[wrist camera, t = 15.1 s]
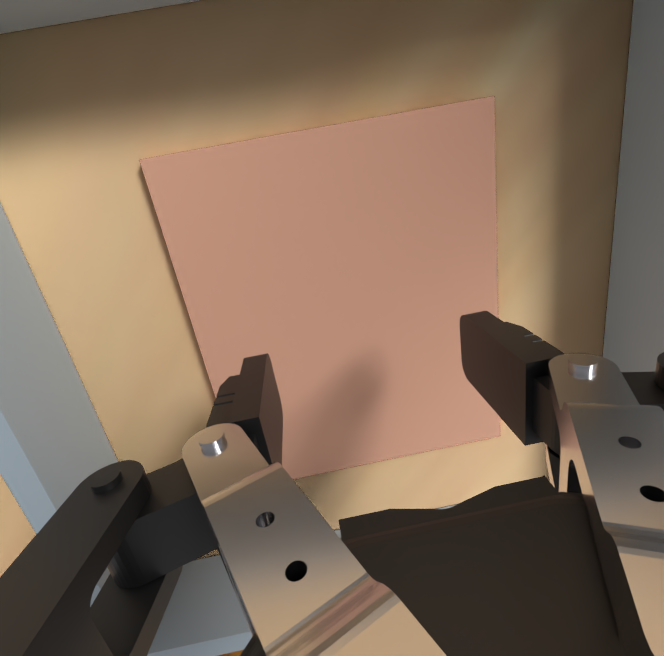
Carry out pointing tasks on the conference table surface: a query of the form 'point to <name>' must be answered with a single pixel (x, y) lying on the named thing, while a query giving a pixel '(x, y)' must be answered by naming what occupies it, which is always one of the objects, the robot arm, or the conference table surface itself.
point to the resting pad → (344, 274)
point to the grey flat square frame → (84, 425)
